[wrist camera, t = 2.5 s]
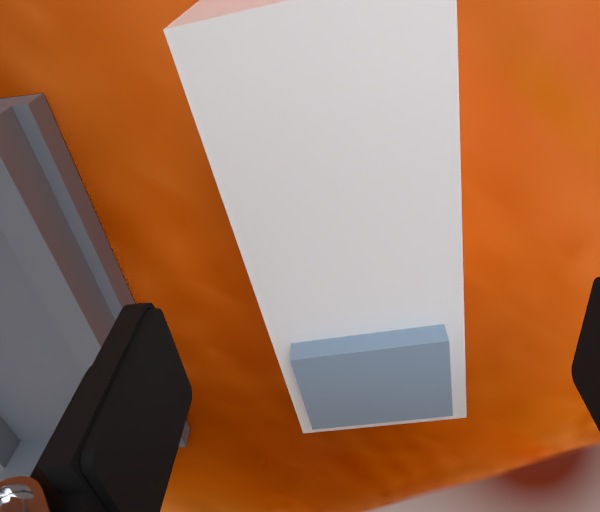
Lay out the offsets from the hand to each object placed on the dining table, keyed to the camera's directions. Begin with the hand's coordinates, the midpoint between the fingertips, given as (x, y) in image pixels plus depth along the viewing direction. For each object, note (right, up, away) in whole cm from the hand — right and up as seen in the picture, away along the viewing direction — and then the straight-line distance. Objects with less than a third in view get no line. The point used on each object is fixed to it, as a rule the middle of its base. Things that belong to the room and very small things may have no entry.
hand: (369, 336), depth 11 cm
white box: (0, +5, +6) cm, 7 cm away
